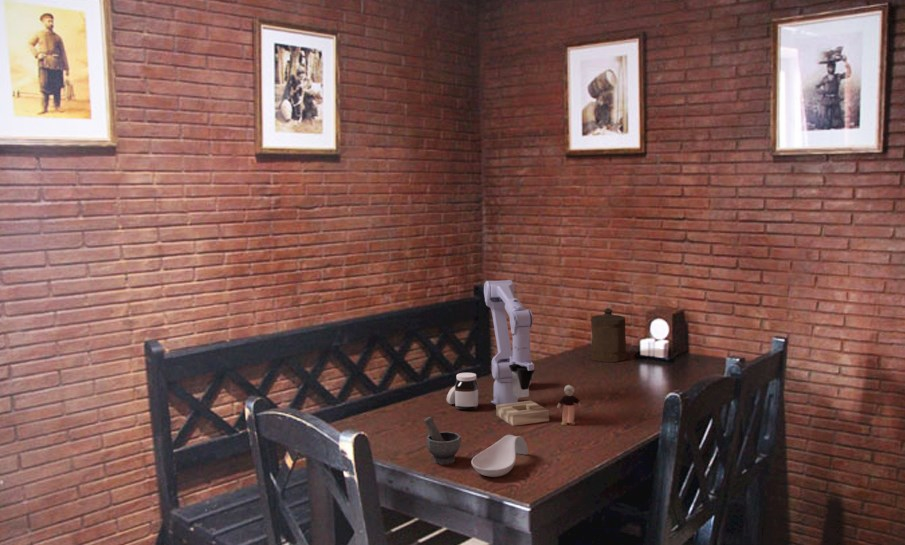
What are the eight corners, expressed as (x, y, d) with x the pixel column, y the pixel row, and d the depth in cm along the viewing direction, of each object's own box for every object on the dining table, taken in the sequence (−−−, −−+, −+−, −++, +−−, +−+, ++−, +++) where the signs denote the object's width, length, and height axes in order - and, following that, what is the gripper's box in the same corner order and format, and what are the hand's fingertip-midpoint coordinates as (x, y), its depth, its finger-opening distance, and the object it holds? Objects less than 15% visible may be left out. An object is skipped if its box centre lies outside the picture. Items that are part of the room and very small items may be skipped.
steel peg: (512, 395, 266) (511, 371, 265) (523, 393, 267) (522, 369, 266) (518, 398, 262) (517, 374, 261) (529, 396, 264) (528, 372, 263)
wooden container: (606, 353, 361) (605, 304, 358) (632, 358, 349) (632, 308, 347) (583, 358, 351) (583, 308, 349) (610, 364, 340) (610, 312, 338)
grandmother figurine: (560, 426, 256) (560, 387, 254) (556, 423, 259) (555, 384, 258) (583, 424, 258) (583, 385, 256) (578, 420, 261) (577, 382, 260)
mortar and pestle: (467, 458, 228) (466, 417, 227) (449, 468, 220) (448, 426, 219) (434, 452, 234) (433, 411, 233) (416, 461, 226) (415, 420, 225)
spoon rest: (504, 484, 209) (503, 458, 208) (463, 477, 214) (463, 451, 213) (539, 456, 229) (539, 432, 228) (501, 451, 235) (501, 427, 234)
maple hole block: (496, 415, 270) (496, 405, 269) (531, 410, 274) (531, 400, 274) (512, 425, 257) (512, 415, 257) (549, 420, 262) (549, 410, 262)
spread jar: (475, 412, 274) (474, 378, 273) (442, 411, 276) (442, 377, 275) (481, 402, 286) (480, 370, 284) (450, 401, 288) (449, 369, 286)
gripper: (501, 343, 268) (501, 383, 270) (519, 352, 255) (520, 394, 256) (520, 342, 271) (520, 381, 272) (539, 350, 257) (540, 391, 259)
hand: (521, 387), depth 265 cm, fingers closed on steel peg, 4 cm apart
